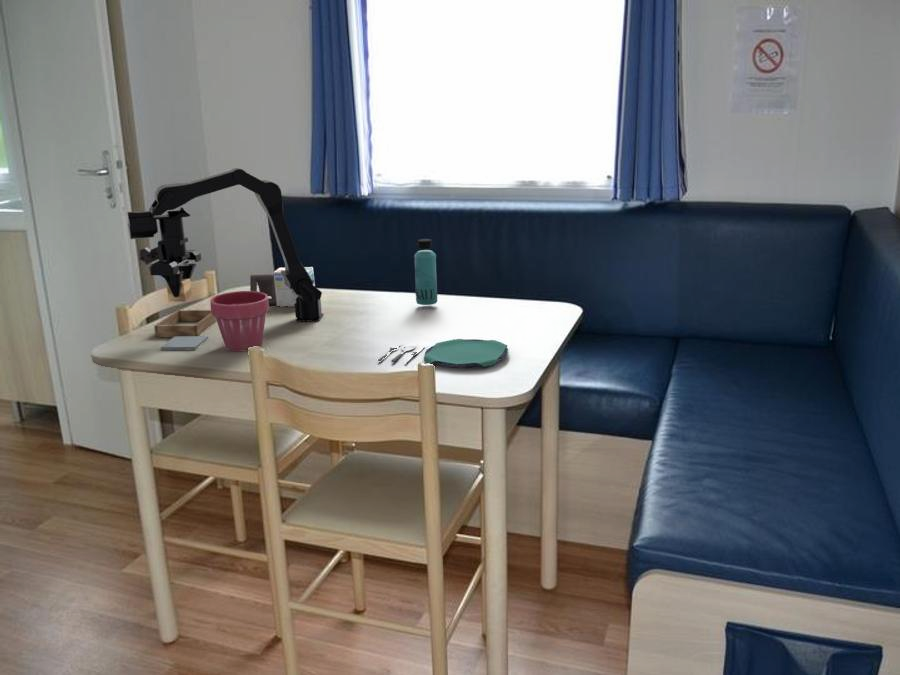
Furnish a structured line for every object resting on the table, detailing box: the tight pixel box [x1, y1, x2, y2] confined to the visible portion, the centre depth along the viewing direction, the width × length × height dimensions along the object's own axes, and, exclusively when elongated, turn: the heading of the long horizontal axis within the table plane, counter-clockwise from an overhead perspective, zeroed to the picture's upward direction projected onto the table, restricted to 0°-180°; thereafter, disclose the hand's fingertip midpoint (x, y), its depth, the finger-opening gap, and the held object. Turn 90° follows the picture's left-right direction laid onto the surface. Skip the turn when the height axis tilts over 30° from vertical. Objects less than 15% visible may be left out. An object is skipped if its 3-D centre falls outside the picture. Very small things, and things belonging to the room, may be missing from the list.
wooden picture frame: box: [154, 309, 217, 338], centre depth 225 cm, size 12×16×3 cm
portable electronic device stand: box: [249, 273, 277, 306], centre depth 248 cm, size 9×8×8 cm
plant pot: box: [209, 290, 270, 352], centre depth 207 cm, size 14×14×13 cm
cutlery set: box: [377, 338, 509, 368], centre depth 196 cm, size 20×30×2 cm, turn 74°
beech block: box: [165, 279, 193, 303], centre depth 214 cm, size 4×4×5 cm
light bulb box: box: [273, 266, 316, 308], centre depth 245 cm, size 11×7×11 cm, turn 84°
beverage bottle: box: [413, 238, 438, 306], centre depth 236 cm, size 6×7×20 cm
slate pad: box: [160, 335, 209, 351], centre depth 211 cm, size 9×9×1 cm
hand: (180, 294), depth 214 cm, fingers closed on beech block, 4 cm apart
